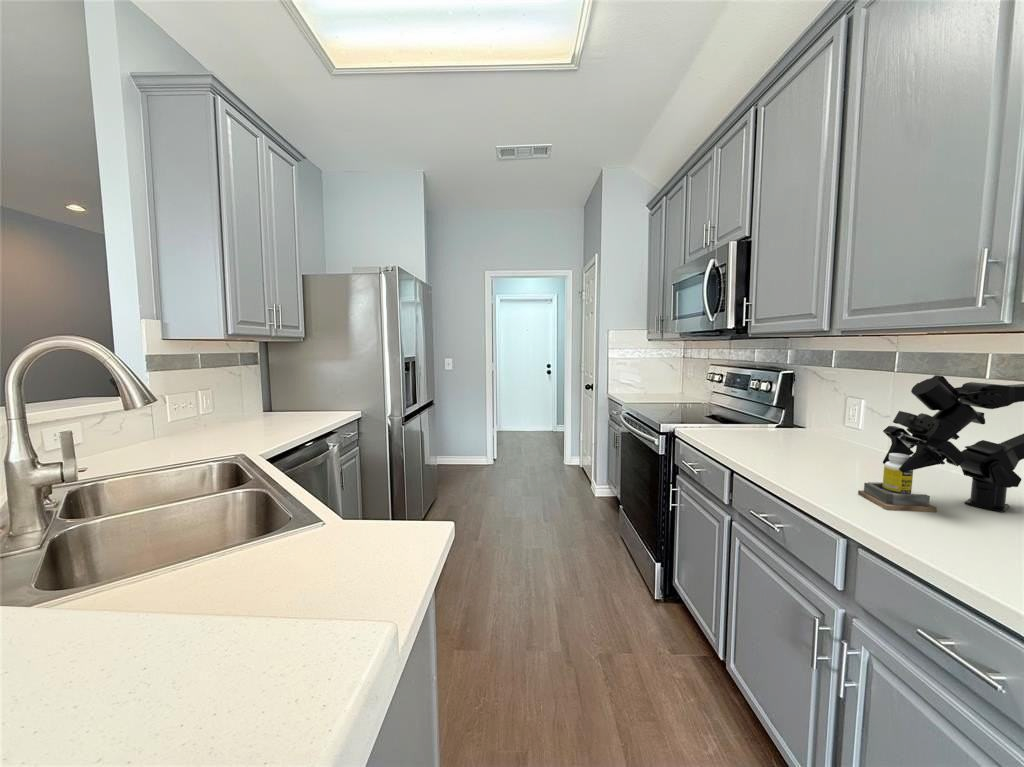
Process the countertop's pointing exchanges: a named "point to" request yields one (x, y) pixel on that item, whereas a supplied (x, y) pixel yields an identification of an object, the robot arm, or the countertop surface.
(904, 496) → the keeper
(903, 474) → the supplement bottle
